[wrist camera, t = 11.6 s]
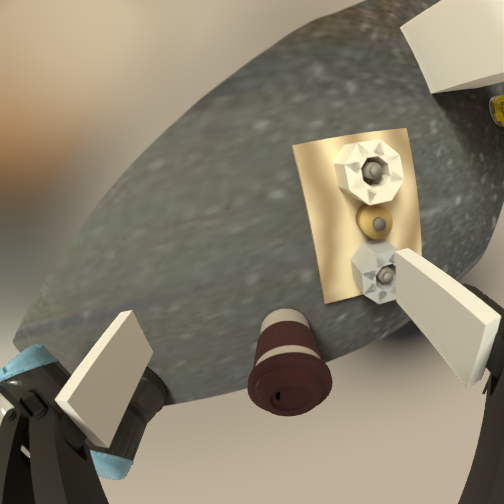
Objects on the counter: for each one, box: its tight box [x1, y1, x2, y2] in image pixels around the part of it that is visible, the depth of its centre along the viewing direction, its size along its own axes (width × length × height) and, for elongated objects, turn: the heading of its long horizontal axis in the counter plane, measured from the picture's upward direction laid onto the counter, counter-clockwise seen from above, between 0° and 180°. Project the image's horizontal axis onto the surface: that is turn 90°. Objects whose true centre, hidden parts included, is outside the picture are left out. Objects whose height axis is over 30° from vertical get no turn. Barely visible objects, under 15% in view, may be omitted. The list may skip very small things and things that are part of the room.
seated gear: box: [350, 238, 398, 304], centre depth 33 cm, size 7×7×5 cm
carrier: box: [291, 128, 422, 304], centre depth 32 cm, size 16×22×7 cm
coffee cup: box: [248, 309, 332, 416], centre depth 34 cm, size 10×10×15 cm
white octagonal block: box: [333, 139, 404, 205], centre depth 29 cm, size 7×7×5 cm
